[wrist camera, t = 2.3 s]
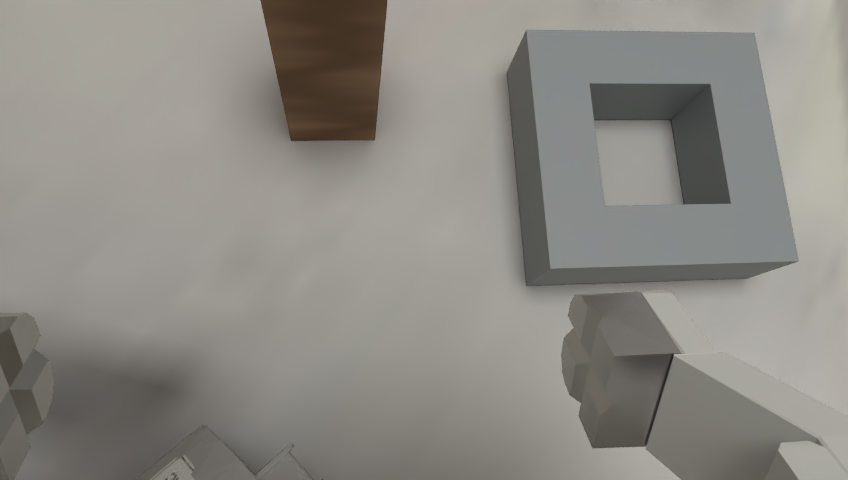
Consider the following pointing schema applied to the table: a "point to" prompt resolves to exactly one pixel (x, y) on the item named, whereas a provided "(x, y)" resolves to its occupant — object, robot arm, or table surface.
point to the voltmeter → (219, 462)
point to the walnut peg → (328, 65)
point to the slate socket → (695, 148)
